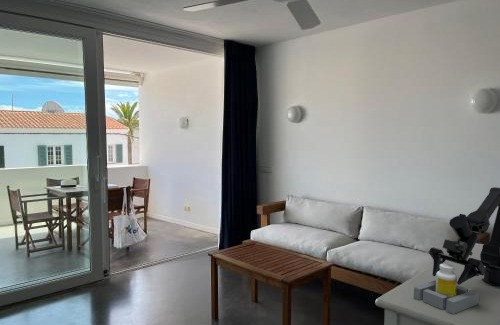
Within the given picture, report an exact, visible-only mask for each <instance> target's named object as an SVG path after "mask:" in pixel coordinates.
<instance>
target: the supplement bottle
mask: <svg viewBox="0 0 500 325" xmlns="http://www.w3.org/2000/svg"><path fill="white" fill-rule="evenodd" d="M439 268H440V271H438V272H437V273H436V276H435V280H436V293H439V294H442V295H444V296H447V297H448V299H450V298H453V297H455V296H456V289H457V286H458V284H457V282H458V275H457V274H456V273H455V266H454V265H452V264H450V263H449V264H448V263H443V264H440V267H439Z"/></svg>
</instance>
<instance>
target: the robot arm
mask: <svg viewBox="0 0 500 325" xmlns="http://www.w3.org/2000/svg"><path fill="white" fill-rule="evenodd" d="M496 210H497V211H496ZM495 211H496V216H495V220H494V223H493V227H492V230H491V231H492V232H491V235H490V239H489V241H488V242H487V243H483V244H482V248H481V251H480V255H479V258H480V259H476V258H473V257H469V256H473V252H472V251H473V249H474V247H475V246H476V243H477V244H480V243H481V242H480V238H479V235H478V234H483V235H484V234H485V233H486V232H487V231H488V230H489V228H490V225H491V222H490V218H491V217H492V215H493V214H494V212H495ZM448 225H449V227H450V228H451V229H452V231H453V232H454V234H455V236H456V237H457V239H456V241H455V240H449V239H446V238H445V239H444V241H443V244H442V249H445V250H446V253H447V254H446V253H444V251H443V250H442V249H440V248H437V247H434V246H433V247H430V248H429V250H428V252H427V253H428V254H429V255H430V257H431V258H432V261H433V268H432V276H433V277H436V273H437V272H438V271H440V268H439V267H440V264H444V263H445V262H446V261H448V262H451V263H455V264H458V265H462V266H463V267H464V269H463V270H462V272H461V274H460V276H459V277H458V278H457V286H460V285H461V284H463V283H465V282H466V281H469V279H472V278H474V277H479V276H483V278H481V280H482V281H483V282H485V283H487V284H488V285H490V286H493V287H494V286H500V187H491V188H490V189H489V192H488V194H487V195H486V197H485V198H484V200H483V201H482V203H480V205H479V207H478V208H477V209H476V210H475V211H471V212H469V214H468V215H466V214H463V213H459V215H456V216H454V217H452V218H451V219H450V220H449V224H448Z"/></svg>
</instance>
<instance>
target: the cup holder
mask: <svg viewBox="0 0 500 325" xmlns="http://www.w3.org/2000/svg"><path fill="white" fill-rule="evenodd" d="M479 297H480V293H479V292H477V291H475V290H469V288H465V287H464V286H460V285H457V289H456V296H455V297H453V298H450V299H448V297H447V296H444V295H442V294H439V293H436V279H435V280H432V281H429V282H426V283H422V284H420V285H416V286H414V287H413V299H416V300H418V301H422V302H423V303H426V304H428V305H430V306H432V307H435V308H437V309H440V310H442V311H443V310H445V311H446V312H447V313H449V314H452V315H455V314H457V313H460V312H463V311H464V310H467V309H469V308H470V309H471V308H472V307H474V306H477V305H479V302H480V301H479V300H480V298H479Z"/></svg>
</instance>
